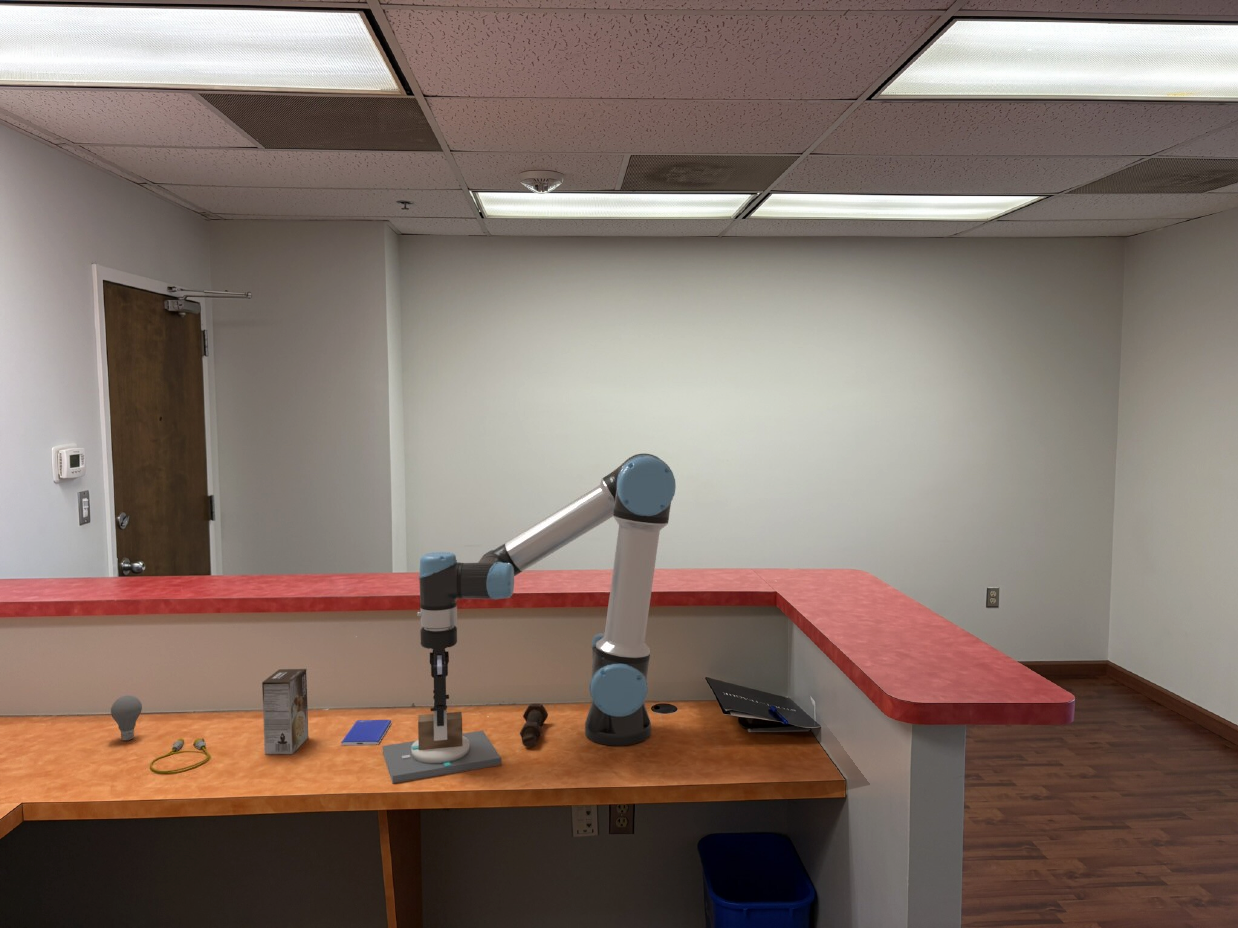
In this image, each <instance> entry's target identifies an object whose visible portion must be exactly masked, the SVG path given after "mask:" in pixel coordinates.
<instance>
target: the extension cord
mask: <svg viewBox="0 0 1238 928" xmlns="http://www.w3.org/2000/svg"><path fill="white" fill-rule="evenodd" d="M184 744H185V740H184V739H183V738H179V739H177V740H175V742H173V744H172V748H171V751H169V752H167V753H166V754H165V755H161V756H159V757H156V758H154V759H153V760H151V762H150V764H149V768H150V771H151V772H153V773H156V774H159V775H161V774H162V775H170V774H171V775H174V774H180V773H184V772H188V771H190V770H193V769H196V768H198V767H200V766H202V765H204V764H206V763H208V762H209V761H210V760H211V758H212V756H211V754H209V752H208V750H207V749H206V748H207V747H206V746H207V743H206V742H205V739H204V738H203V737H202V738H196V739H195V740H194V741H193V747H194V748H196V749H198V750H199V751H198V750H181V749H182V748H183V746H184ZM182 753H199V754H204V755H207V757H206V758H204V759H203V760H201V761H199V762H197V763H195V764H191V765H188V766H184V767H181V768H177V769H171V770H158V769H155V768H154V767H153V765H154V763H155V762H156V761H158V760H160V759H163V758H166V757H169V756H171V755H172V756H173V755H176V754H182Z"/></svg>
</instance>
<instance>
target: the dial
mask: <svg viewBox="0 0 1238 928" xmlns="http://www.w3.org/2000/svg"><path fill="white" fill-rule="evenodd" d="M417 718H418V719H417V723H418V724H417V727H418V729H417V734H418V736H417V737H418V738H417V740H414V741H415V742H414V743H413V744H412V747H411V750H412V757H413V758H414V759H415V760H417V761H420V762H424V763H445V762H451V761H454V760H457V759H460V758H462V757H464V756H465V755H466V754H467V753H468V752H469V740H468V739H467V738H466V737H464V736H462V734H463V714H462V711H453V712H452V711H451V712H447V740H438V741H434V713H429V714H428V713H427V714H418V717H417Z"/></svg>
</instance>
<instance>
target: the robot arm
mask: <svg viewBox="0 0 1238 928" xmlns="http://www.w3.org/2000/svg"><path fill="white" fill-rule="evenodd" d="M600 479H601V480H600V482H599V485H598V486H595V487H594V488H593V489H591V490H589V491H587V492H586V493H584V494H583V495H581V496H580V497H578V498H576V499H574V500H573V501H571V502H569V503H568V504H566V505H565V506H563V507H561V508H560V509H558V510H556V511H555V512H553V513H552V514H550V515H548V516H547V517H545V518H543V519H541V520H540V521H539V522H537V523H535V524H533V525H532V526H531V527H529V528H527V529H526V530H523V531H522V532H521V533H519V534H517V535H516V536H515V537H512V538H510V539H509V540H507V541H506V542H505V543H504V544H501V545H499V546H498V547H497V548H495V549H491V550H489V551H488V552H486V553H485V554H483V555H482V556H481V557H480V559H479V561H478V562H460V561H459V562H458V560H457V557H456V554H455V553H453V552H450V551H449V552H446V551H434V552H429V553H425V554H423V555H422V556H421V558H420V559H419V575H418V581H419V600H420V601H419V602H420V603H419V606H420V607H419V608H420V611H417V613H416V616H417V617H420V626H421V628H420V632H419V633H420V645H421V647H423V648H424V649H428V650H429V649H430V650H432V652H429V664H430V674H431V675H430V676H431V678H433V690H432V691H433V698H432V699H433V704H432V705H433V706H432V707H430V712H433V714H434V741H438V740H447V713H448V712H447V711H448V705H447V700H449V699H450V695H449V694H447V676H449V675H448V674H449V662H450V656H449V655H450V653H449V651H446V649H447V648H452V647H454V646H456V644H457V643H458V627H457V626H456V625H457V624H458V605H457V600H458V599H459V600H461V599H462V600H464V599H465V600H466V599H467V600H470V599H471V600H495V601H496V600H500V599H510V598H511V597H512V596H513V594H514V590H515V577H516V576H517V575H519V574H521V573H522V572H524V571H525V570H527V569H529V568H530V567H532V566H534V565H536V564H537V563H538V562H540V561H542V560H543V559H545V558H547V557H549V556H550V555H551V554H554V553H555V552H557V551H558V550H560V549H562V548H563V547H564V546H565V547H566V545H569V544H570V543H571V542H573V541H575V540H577V539H578V538H579V537H581V536H583V535H584V534H586V533H588V532H590V531H591V530H593V529H594V528H597V527H598V526H600V525H601V524H604V522H606V521H608V520H610V519H611V518H613V519H614V520H615V521H616V522H617V524H618V531H617V538H616V544H615V553H614V561H613V569H612V576H611V581H610V582H611V584H610V591H609V597H608V604H607V605H608V606H607V612H606V613H607V614H606V621H605V629H604V632H603V633H602V632H601V633H597V634H595V635H594V636H593V638H592V643H591V649H592V656H591V657H592V658H591V659H592V662H591V676H590V677H591V678H590V683H589V694H590V697H591V699H592V700H591V703H590V707H589V710H588V713H587V716H586V719H585V722H584V723H585V724H584V734H585V737H587V739H589V740H590V741H592V742H593V743H596V744H601V745H605V746H614V747H615V746H617V747H618V746H621V747H622V746H631V745H635V744H640V743H642V742H644V741H646V740H647V739H649V738H650V737H651V735H652V722H651V719H650V717H649V713H648V710H647V706H646V703H645V701H646V698H647V695H648V691H649V687H648V672H649V665H650V657H651V649H650V648H649V646H648V645H647V643H646V642H645V640H646V636H647V635H646V633H647V628H648V627H647V626H648V619H649V612H650V605H651V596H652V592H653V591H652V589H653V582H654V575H655V567H656V561H657V553H658V547H659V545H658V544H659V541H660V540H659V537H660V532H661V531H662V530H663V528H665V527H666V526H667V525H668V524H669V519H670V512H671V506H672V505H671V504H672V501H673V500H674V496H675V494H676V489H677V488H676V478H675V476H674V472H673V471H672V469H671V467H670V466H669V465H668V464H667V463H666V462H665V461H664V460H663V459H661V458H659V456H656V455H653V454H650V453H637V454H634V455H632V456H630V457H629V458H627V459H626V460H625V461H624V462H623V463H621V464H620V465H619V466H618V467H617V468H615V469H614V470H613V471H611V472H610V473H608V474H607V475H605V476H604V477H602V478H600Z"/></svg>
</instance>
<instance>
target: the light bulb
mask: <svg viewBox="0 0 1238 928" xmlns="http://www.w3.org/2000/svg"><path fill="white" fill-rule="evenodd" d="M142 710H143V704H142V702H141V700H140V699H139V698H137V696H134V695H130V694H129V695H128V694H127V695H123V696H120V697H118V698H117V699H115V701H114V702H113V703H112V705H111V708H110V714H111V717H112V719H113V720H114V722H116V724H117V726H118V730H120V740H122V741H130V740H131V739H134V737H135V727H136V726H137V723H136V722H137V720H138V718H139V717H140V715H141V713H142Z"/></svg>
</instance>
